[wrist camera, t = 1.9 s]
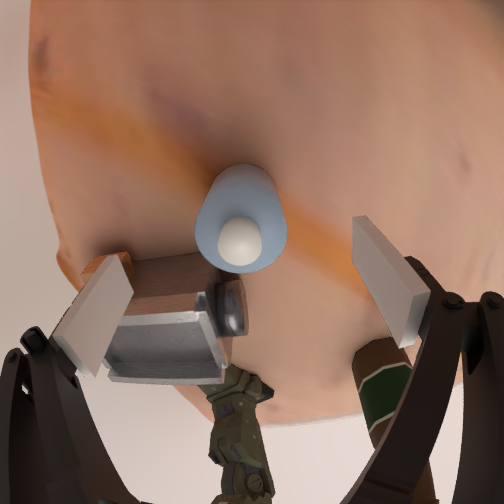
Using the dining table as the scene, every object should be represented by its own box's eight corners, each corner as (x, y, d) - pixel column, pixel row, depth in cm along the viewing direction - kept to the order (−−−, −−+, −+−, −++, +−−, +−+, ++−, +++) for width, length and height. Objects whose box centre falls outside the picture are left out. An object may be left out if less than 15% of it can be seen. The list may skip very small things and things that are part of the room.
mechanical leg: (296, 401, 37) (271, 589, 9) (259, 415, 39) (220, 582, 11) (233, 345, 35) (150, 570, 7) (198, 364, 37) (110, 550, 9)
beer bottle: (403, 357, 34) (452, 499, 13) (355, 377, 36) (389, 525, 15) (399, 327, 31) (465, 497, 10) (344, 351, 32) (385, 530, 12)
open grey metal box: (231, 226, 24) (223, 282, 17) (251, 319, 29) (252, 381, 22) (90, 251, 25) (50, 299, 18) (129, 329, 30) (108, 381, 23)
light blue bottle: (272, 159, 21) (284, 191, 14) (280, 221, 24) (294, 280, 16) (203, 170, 21) (177, 208, 14) (217, 231, 24) (203, 292, 17)
